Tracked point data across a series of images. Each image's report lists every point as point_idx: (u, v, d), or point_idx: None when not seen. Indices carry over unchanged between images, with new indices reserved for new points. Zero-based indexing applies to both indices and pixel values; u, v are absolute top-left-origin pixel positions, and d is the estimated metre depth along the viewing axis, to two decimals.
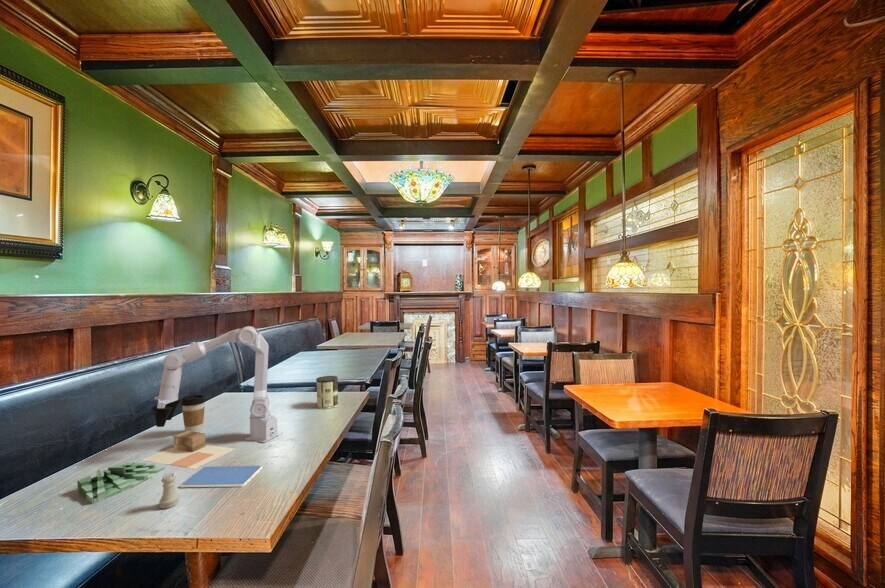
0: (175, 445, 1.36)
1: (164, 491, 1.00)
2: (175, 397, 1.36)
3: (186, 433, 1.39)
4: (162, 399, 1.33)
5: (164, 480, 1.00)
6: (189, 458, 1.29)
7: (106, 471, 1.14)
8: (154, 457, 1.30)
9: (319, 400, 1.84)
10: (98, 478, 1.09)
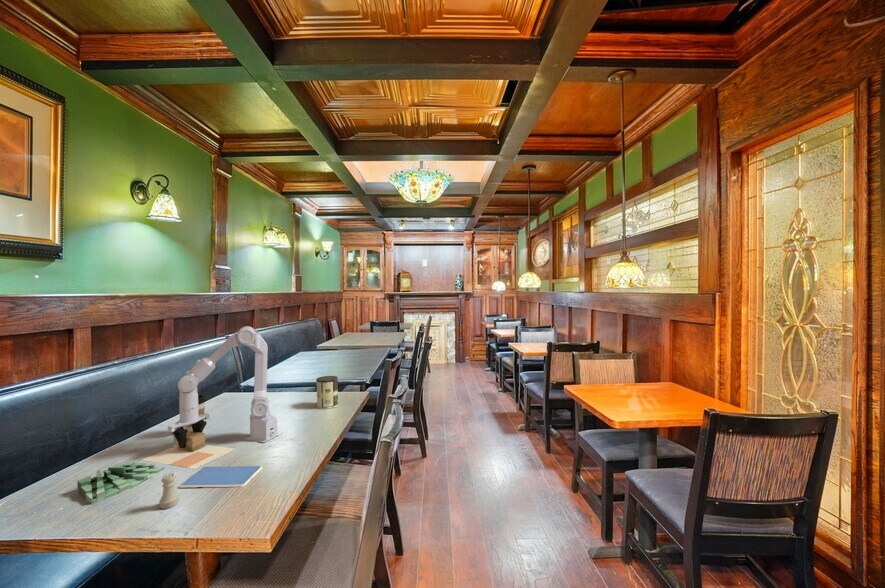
0: (175, 445, 1.36)
1: (164, 491, 1.00)
2: (191, 420, 1.36)
3: None
4: (180, 422, 1.35)
5: (164, 480, 1.00)
6: (189, 458, 1.29)
7: (106, 471, 1.13)
8: (154, 457, 1.30)
9: (319, 400, 1.84)
10: (98, 478, 1.08)
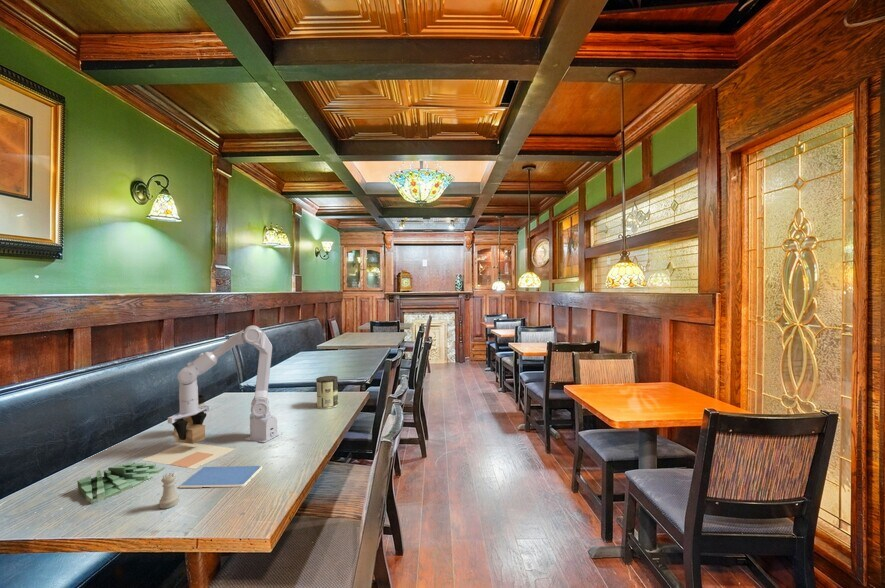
0: (175, 437, 1.36)
1: (164, 491, 1.00)
2: (191, 411, 1.36)
3: None
4: (179, 413, 1.35)
5: (164, 480, 1.00)
6: (189, 458, 1.29)
7: (106, 471, 1.13)
8: (154, 457, 1.30)
9: (319, 400, 1.84)
10: (98, 478, 1.08)
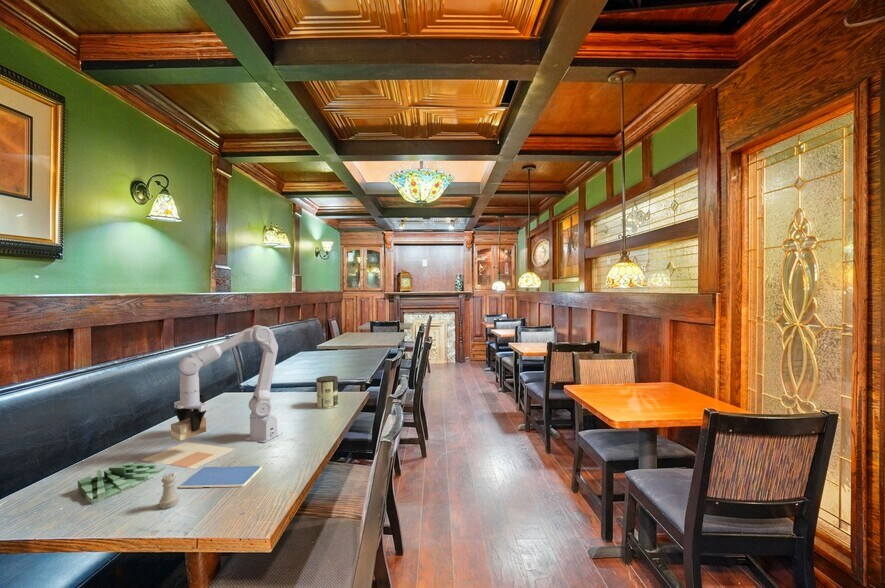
0: (182, 435, 1.28)
1: (164, 491, 1.00)
2: None
3: (179, 423, 1.31)
4: (192, 405, 1.31)
5: (164, 480, 1.00)
6: (189, 458, 1.29)
7: (106, 471, 1.13)
8: (154, 457, 1.30)
9: (319, 400, 1.84)
10: (98, 478, 1.08)
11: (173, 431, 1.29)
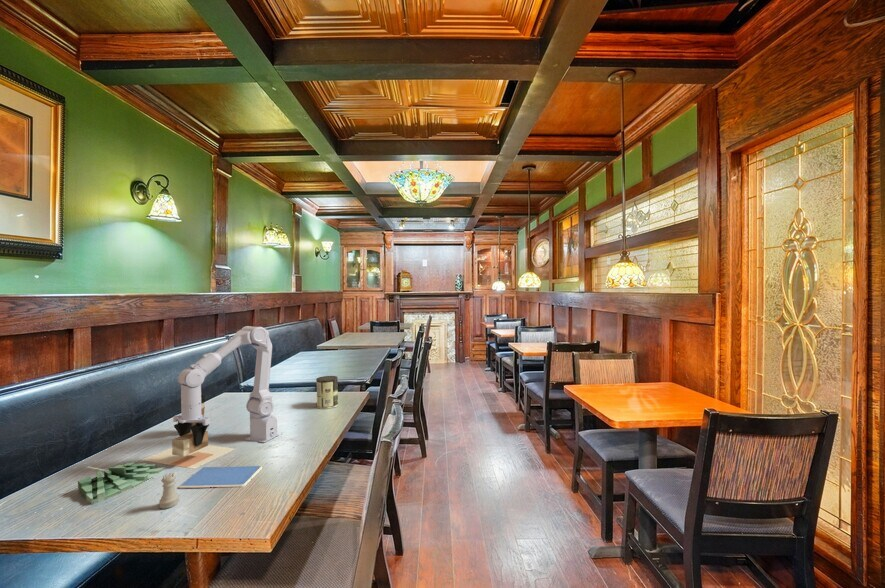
0: (185, 450, 1.23)
1: (164, 491, 1.00)
2: None
3: (181, 437, 1.25)
4: (195, 418, 1.26)
5: (164, 480, 1.00)
6: (189, 458, 1.29)
7: (106, 471, 1.13)
8: (154, 457, 1.30)
9: (319, 400, 1.84)
10: (98, 478, 1.08)
11: (174, 447, 1.23)
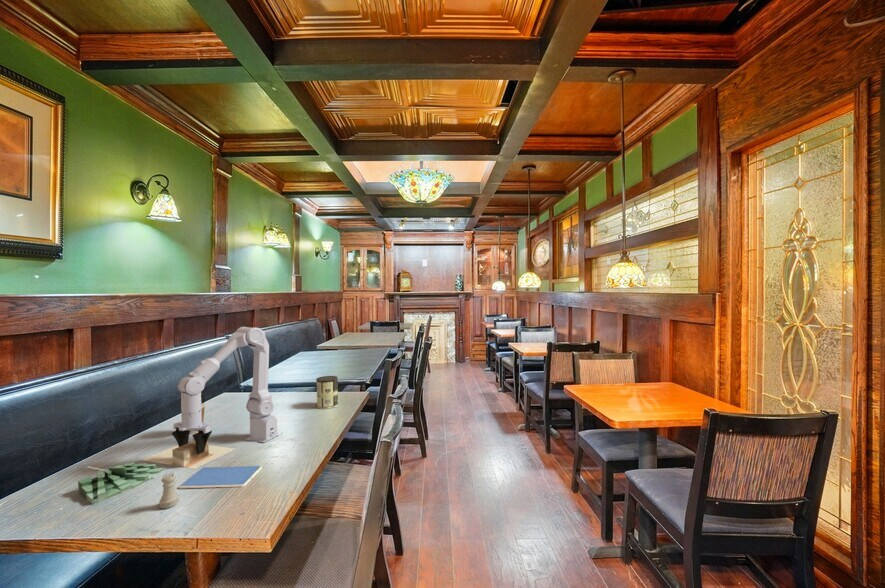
0: (186, 461, 1.23)
1: (164, 491, 1.00)
2: None
3: (181, 447, 1.25)
4: (195, 426, 1.26)
5: (164, 480, 1.00)
6: None
7: (107, 471, 1.13)
8: (154, 457, 1.30)
9: (319, 400, 1.84)
10: (99, 478, 1.08)
11: (175, 457, 1.24)
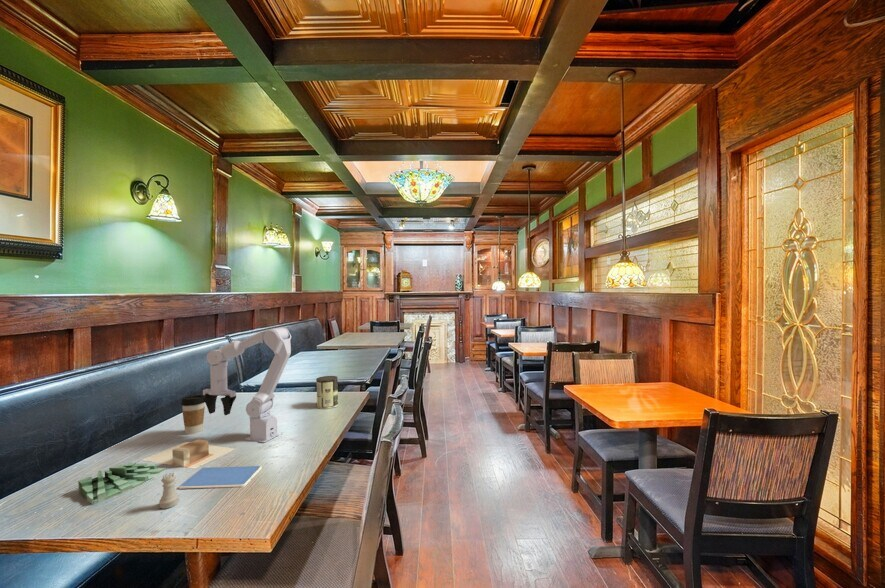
0: (186, 461, 1.23)
1: (164, 491, 1.00)
2: None
3: (181, 447, 1.25)
4: (222, 391, 1.47)
5: (164, 480, 1.00)
6: None
7: (107, 471, 1.13)
8: (154, 457, 1.30)
9: (319, 400, 1.84)
10: (99, 479, 1.08)
11: (175, 457, 1.24)
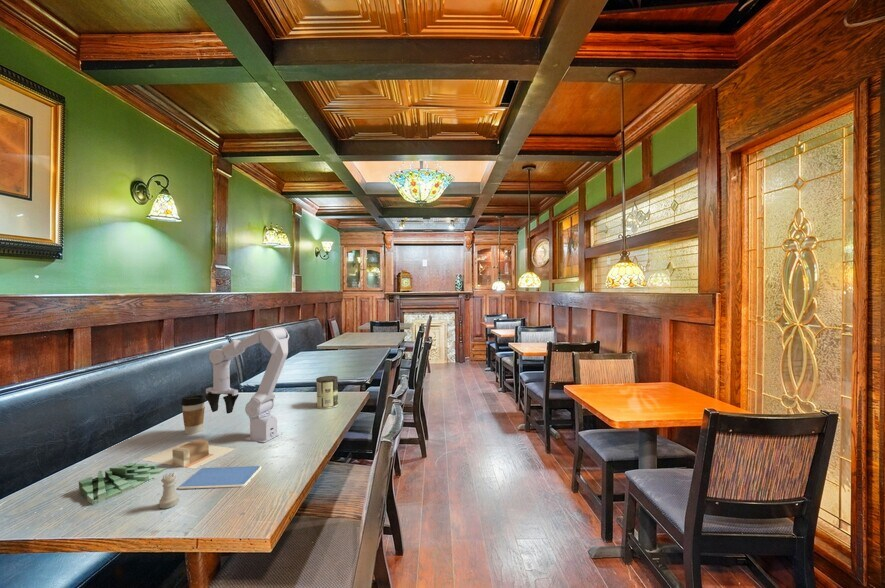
0: (186, 461, 1.23)
1: (164, 491, 1.00)
2: None
3: (181, 447, 1.25)
4: (225, 390, 1.49)
5: (164, 480, 1.00)
6: None
7: (107, 472, 1.13)
8: (154, 457, 1.30)
9: (319, 400, 1.84)
10: (99, 479, 1.08)
11: (175, 457, 1.24)
